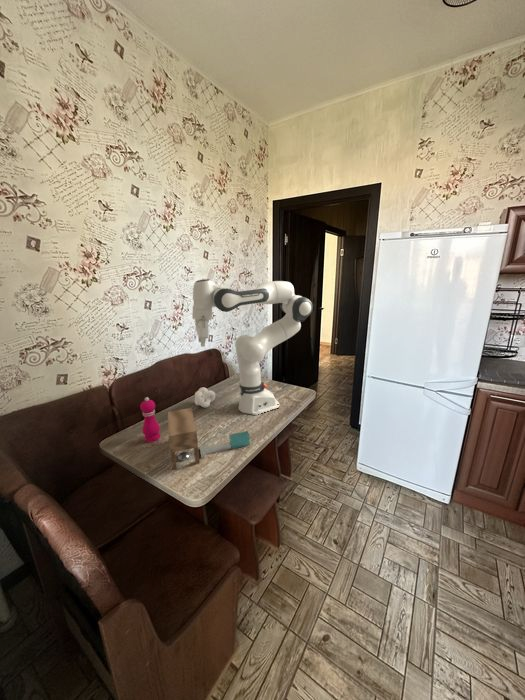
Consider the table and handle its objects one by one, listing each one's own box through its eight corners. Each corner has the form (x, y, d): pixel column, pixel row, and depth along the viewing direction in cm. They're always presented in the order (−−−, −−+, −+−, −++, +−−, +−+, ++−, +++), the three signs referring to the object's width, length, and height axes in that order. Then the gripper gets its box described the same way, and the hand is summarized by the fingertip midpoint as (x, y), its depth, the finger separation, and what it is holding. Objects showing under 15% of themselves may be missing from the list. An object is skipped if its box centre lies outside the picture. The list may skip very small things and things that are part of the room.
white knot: (188, 405, 156) (187, 390, 153) (205, 398, 165) (204, 384, 162) (201, 411, 149) (200, 395, 146) (218, 403, 158) (217, 388, 155)
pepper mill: (150, 444, 120) (144, 402, 115) (140, 440, 124) (133, 398, 119) (164, 436, 126) (159, 395, 121) (154, 432, 130) (148, 392, 124)
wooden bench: (194, 435, 126) (191, 407, 122) (199, 463, 107) (196, 430, 104) (171, 440, 123) (167, 411, 119) (172, 469, 104) (168, 436, 101)
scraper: (246, 439, 122) (246, 429, 121) (250, 446, 117) (250, 436, 115) (199, 449, 116) (198, 438, 115) (201, 457, 111) (200, 447, 109)
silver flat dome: (189, 453, 114) (189, 450, 114) (190, 459, 110) (190, 457, 110) (178, 455, 113) (177, 453, 112) (178, 462, 109) (178, 459, 108)
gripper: (212, 318, 121) (211, 349, 124) (206, 312, 139) (205, 339, 143) (197, 317, 119) (196, 349, 122) (193, 312, 137) (192, 339, 141)
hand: (201, 344), depth 132 cm, fingers open, 8 cm apart
